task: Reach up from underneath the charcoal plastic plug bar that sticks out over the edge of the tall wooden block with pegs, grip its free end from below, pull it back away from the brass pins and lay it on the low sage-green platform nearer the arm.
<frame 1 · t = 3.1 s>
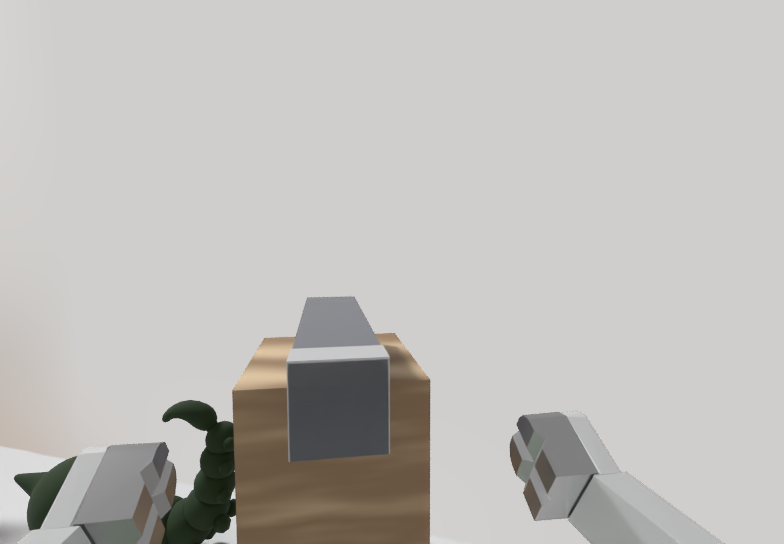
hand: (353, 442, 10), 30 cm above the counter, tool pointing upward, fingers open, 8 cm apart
plug bar: (334, 379, 27), point 26 cm above the counter, touching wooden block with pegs
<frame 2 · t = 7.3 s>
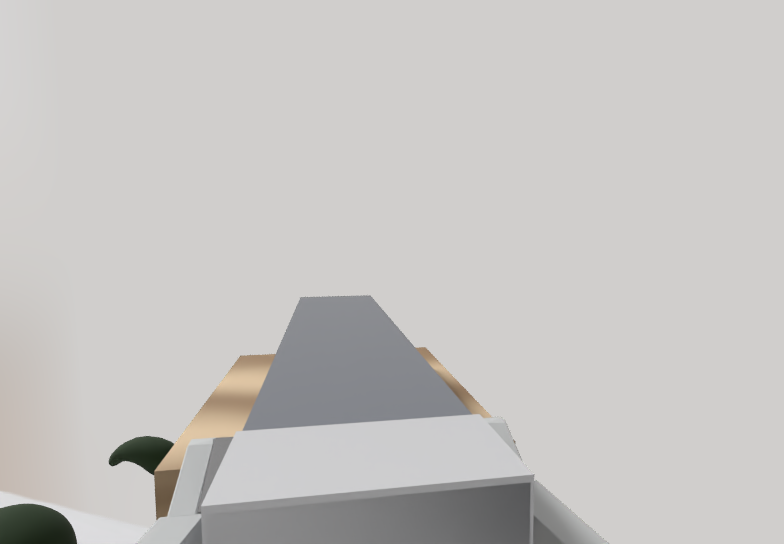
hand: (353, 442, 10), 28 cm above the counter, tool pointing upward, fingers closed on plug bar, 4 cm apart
plug bar: (344, 441, 15), point 26 cm above the counter, touching gripper, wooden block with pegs
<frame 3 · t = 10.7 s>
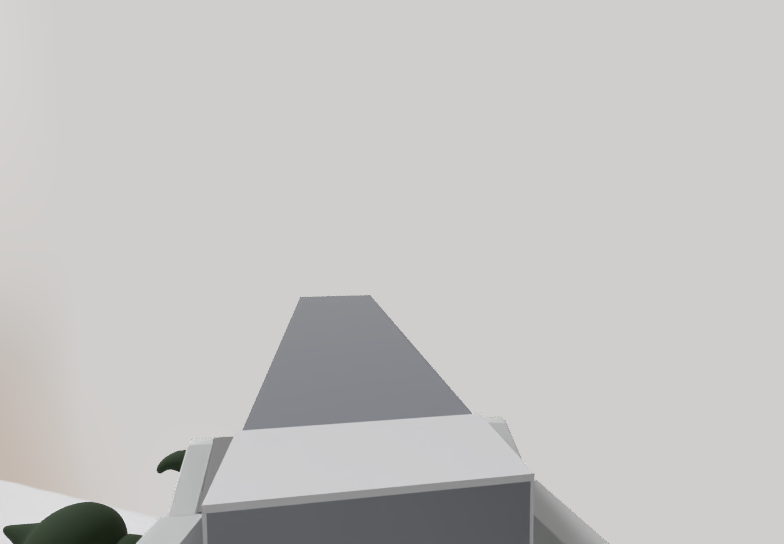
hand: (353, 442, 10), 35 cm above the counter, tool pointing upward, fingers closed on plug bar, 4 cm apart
plug bar: (344, 441, 15), point 32 cm above the counter, touching gripper
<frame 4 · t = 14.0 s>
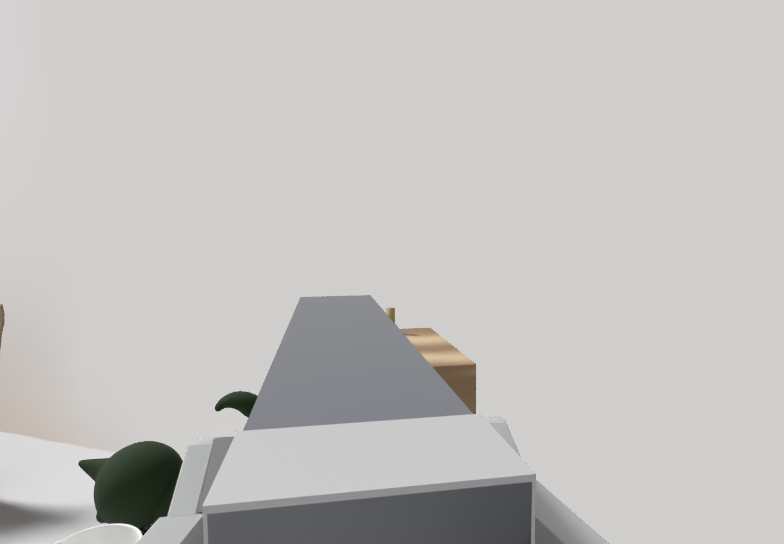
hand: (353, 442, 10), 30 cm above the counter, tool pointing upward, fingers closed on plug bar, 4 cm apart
plug bar: (345, 441, 15), point 28 cm above the counter, touching gripper
toy figurine: (185, 536, 52), on the counter
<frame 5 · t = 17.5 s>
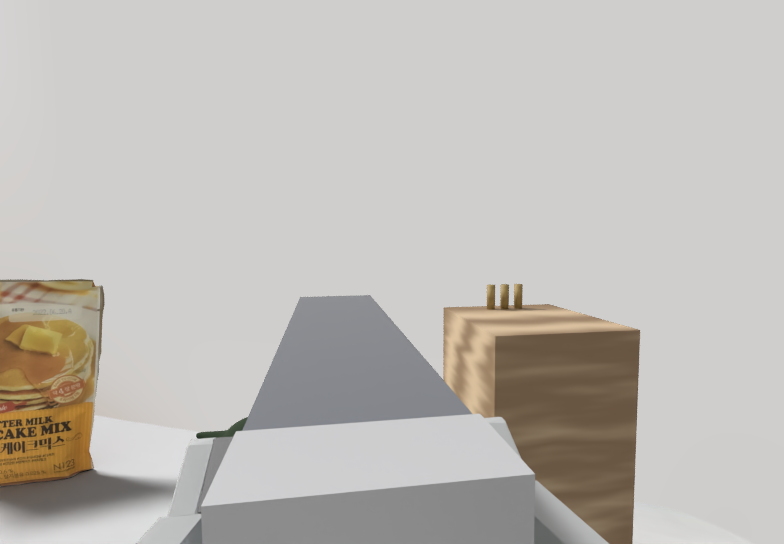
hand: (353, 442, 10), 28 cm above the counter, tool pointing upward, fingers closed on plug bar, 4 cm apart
pancake mix bag: (32, 474, 62), on the counter
plug bar: (344, 441, 15), point 26 cm above the counter, touching gripper
toy figurine: (298, 505, 55), on the counter
when the fingers open (18 cm above the counter, at t = 20.7 s): plug bar drops 4 cm, resting on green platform.
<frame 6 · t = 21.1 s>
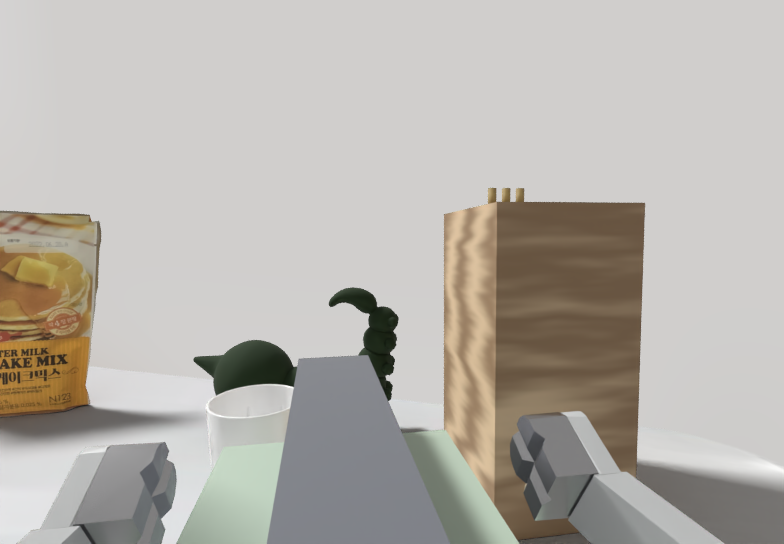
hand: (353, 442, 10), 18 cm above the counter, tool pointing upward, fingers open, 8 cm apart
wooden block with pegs: (525, 485, 41), on the counter
white cup: (259, 514, 37), on the counter
pancake mix bag: (28, 409, 61), on the counter
plug bar: (345, 538, 16), point 12 cm above the counter, touching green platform
toy figurine: (296, 430, 54), on the counter
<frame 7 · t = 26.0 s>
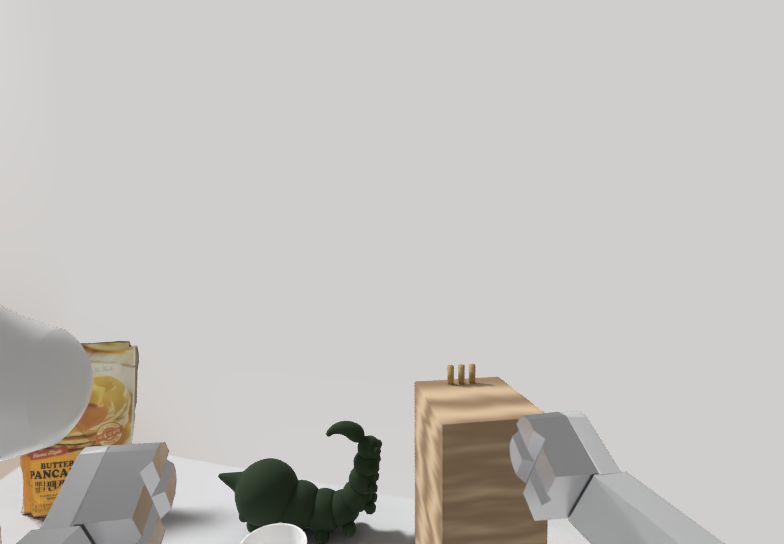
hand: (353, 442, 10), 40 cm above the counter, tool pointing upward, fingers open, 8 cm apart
pancake mix bag: (80, 504, 75), on the counter
toy figurine: (300, 532, 67), on the counter
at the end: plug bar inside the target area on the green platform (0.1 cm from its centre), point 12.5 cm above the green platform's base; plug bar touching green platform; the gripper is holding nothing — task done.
